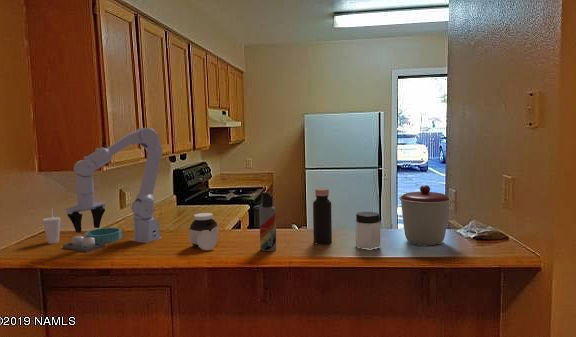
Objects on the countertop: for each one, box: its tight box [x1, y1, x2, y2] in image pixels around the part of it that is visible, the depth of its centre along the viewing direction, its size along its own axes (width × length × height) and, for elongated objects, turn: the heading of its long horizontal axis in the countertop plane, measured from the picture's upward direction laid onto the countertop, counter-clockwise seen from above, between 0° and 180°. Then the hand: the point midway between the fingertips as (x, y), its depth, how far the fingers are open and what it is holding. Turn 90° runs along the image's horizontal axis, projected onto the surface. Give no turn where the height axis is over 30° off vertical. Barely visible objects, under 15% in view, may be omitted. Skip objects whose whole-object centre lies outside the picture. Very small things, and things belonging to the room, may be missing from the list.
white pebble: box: [71, 235, 85, 247], centre depth 159 cm, size 4×4×4 cm
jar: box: [355, 211, 381, 249], centre depth 150 cm, size 9×8×12 cm
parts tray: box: [62, 242, 106, 253], centre depth 157 cm, size 13×7×2 cm, turn 62°
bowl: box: [84, 227, 123, 244], centre depth 169 cm, size 13×13×4 cm
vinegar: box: [312, 188, 333, 245], centre depth 157 cm, size 7×7×20 cm
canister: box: [398, 184, 452, 246], centre depth 154 cm, size 18×18×21 cm
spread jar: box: [189, 212, 219, 251], centre depth 155 cm, size 12×11×12 cm
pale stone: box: [83, 237, 95, 248], centre depth 156 cm, size 4×4×4 cm
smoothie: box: [42, 207, 62, 244], centre depth 165 cm, size 6×6×14 cm
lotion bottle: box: [258, 193, 277, 252], centre depth 150 cm, size 6×6×20 cm
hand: (87, 230), depth 155 cm, fingers open, 7 cm apart
